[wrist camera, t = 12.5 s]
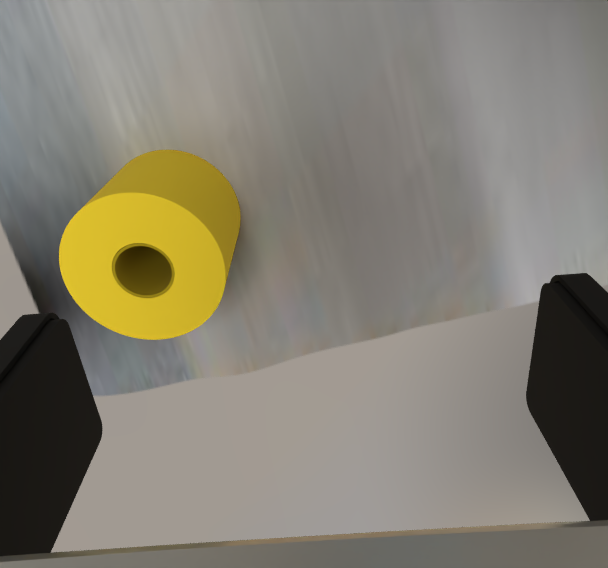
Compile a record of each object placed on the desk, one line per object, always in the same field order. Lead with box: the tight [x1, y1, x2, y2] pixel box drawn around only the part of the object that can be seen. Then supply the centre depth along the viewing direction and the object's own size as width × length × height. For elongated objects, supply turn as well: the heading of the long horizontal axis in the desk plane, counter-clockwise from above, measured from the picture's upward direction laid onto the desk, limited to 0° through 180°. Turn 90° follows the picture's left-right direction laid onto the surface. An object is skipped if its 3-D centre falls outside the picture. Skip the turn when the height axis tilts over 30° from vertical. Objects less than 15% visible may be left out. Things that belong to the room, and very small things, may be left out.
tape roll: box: [59, 150, 241, 340], centre depth 37 cm, size 10×10×9 cm
